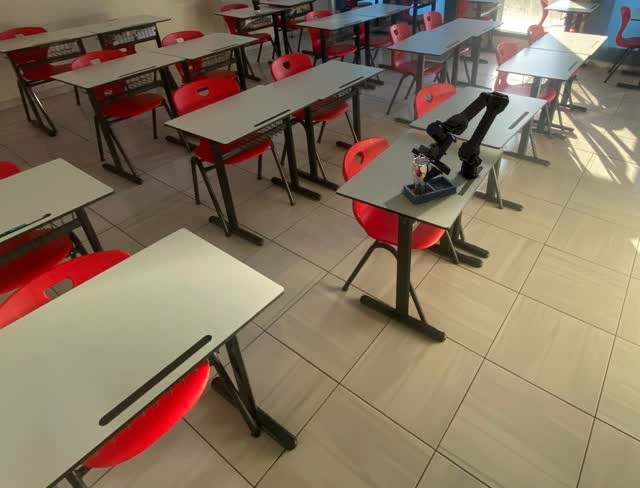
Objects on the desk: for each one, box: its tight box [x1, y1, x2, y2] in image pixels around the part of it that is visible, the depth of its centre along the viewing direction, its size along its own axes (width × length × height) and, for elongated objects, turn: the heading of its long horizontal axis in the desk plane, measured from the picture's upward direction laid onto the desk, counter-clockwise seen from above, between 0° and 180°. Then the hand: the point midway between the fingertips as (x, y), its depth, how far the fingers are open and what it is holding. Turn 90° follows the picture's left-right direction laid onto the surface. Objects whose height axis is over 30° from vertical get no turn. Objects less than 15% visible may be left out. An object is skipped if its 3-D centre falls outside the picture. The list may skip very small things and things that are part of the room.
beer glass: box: [411, 157, 431, 196], centre depth 167 cm, size 7×7×15 cm
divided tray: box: [402, 174, 457, 205], centre depth 172 cm, size 19×10×3 cm, turn 115°
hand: (418, 178), depth 166 cm, fingers closed on beer glass, 7 cm apart
